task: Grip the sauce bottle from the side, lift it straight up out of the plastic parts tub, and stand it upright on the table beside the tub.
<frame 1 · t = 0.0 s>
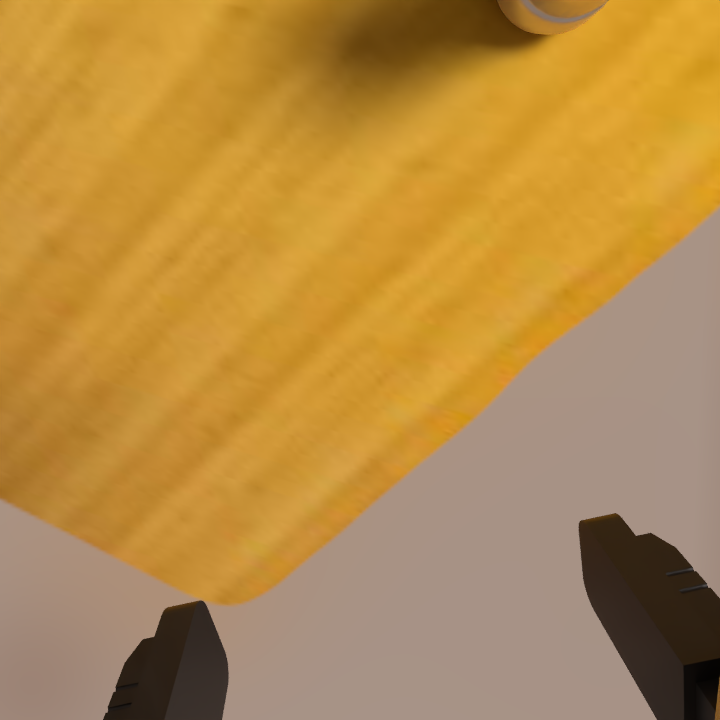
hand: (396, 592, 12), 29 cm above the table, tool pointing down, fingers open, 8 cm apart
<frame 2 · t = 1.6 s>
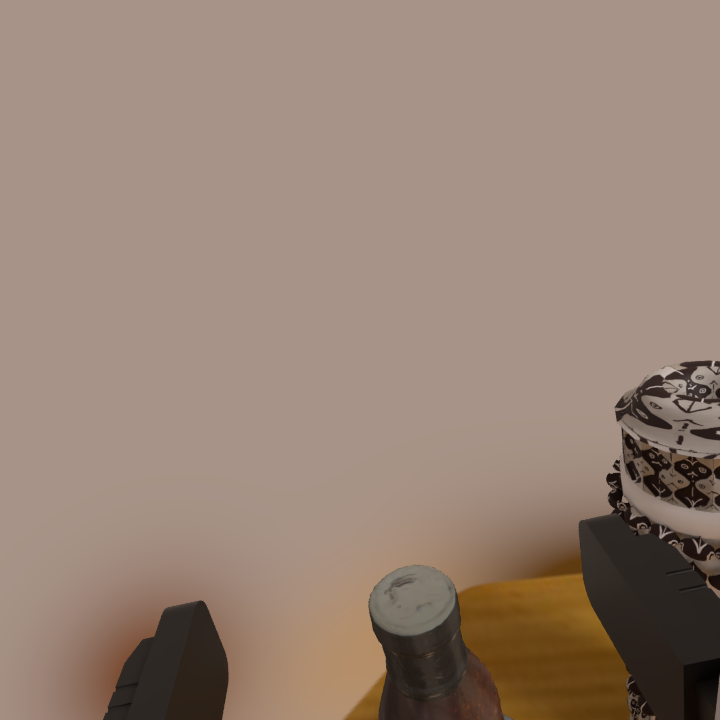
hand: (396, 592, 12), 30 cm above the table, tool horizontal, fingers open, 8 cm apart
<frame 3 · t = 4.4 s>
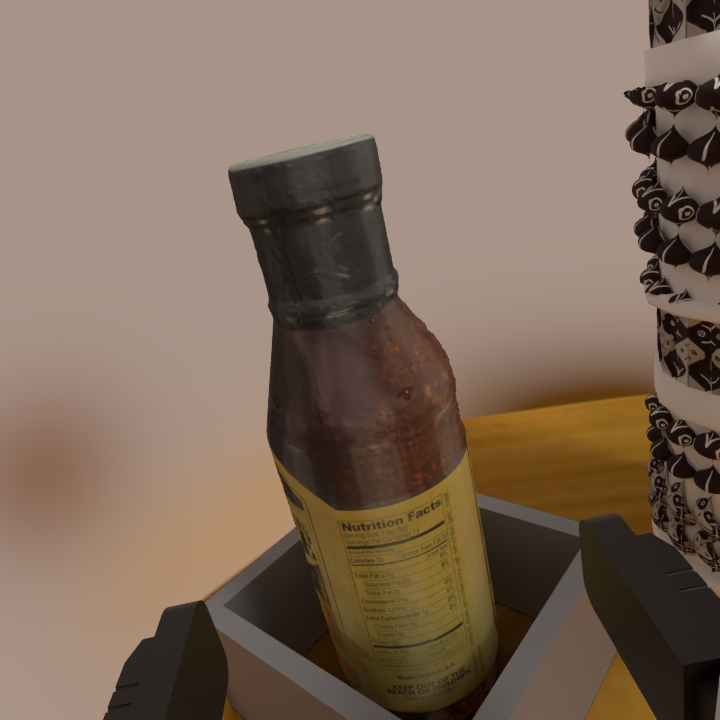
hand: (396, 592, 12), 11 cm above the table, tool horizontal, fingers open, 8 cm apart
sauce bottle: (425, 676, 23), resting in parts tub
parts tub: (424, 672, 23), on the table
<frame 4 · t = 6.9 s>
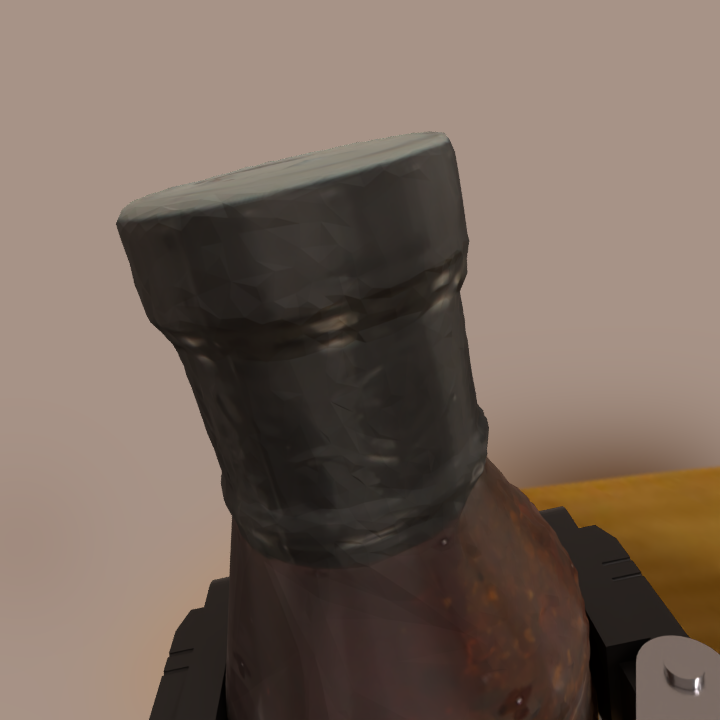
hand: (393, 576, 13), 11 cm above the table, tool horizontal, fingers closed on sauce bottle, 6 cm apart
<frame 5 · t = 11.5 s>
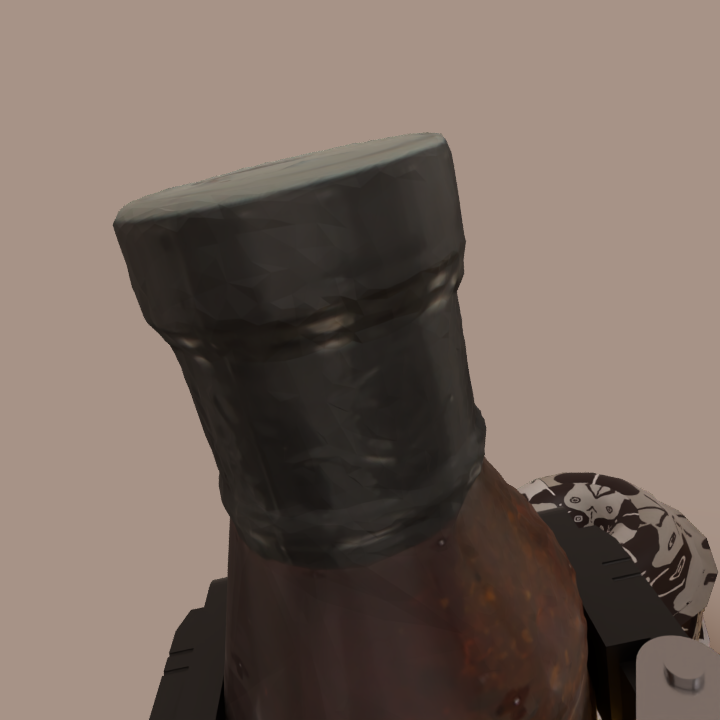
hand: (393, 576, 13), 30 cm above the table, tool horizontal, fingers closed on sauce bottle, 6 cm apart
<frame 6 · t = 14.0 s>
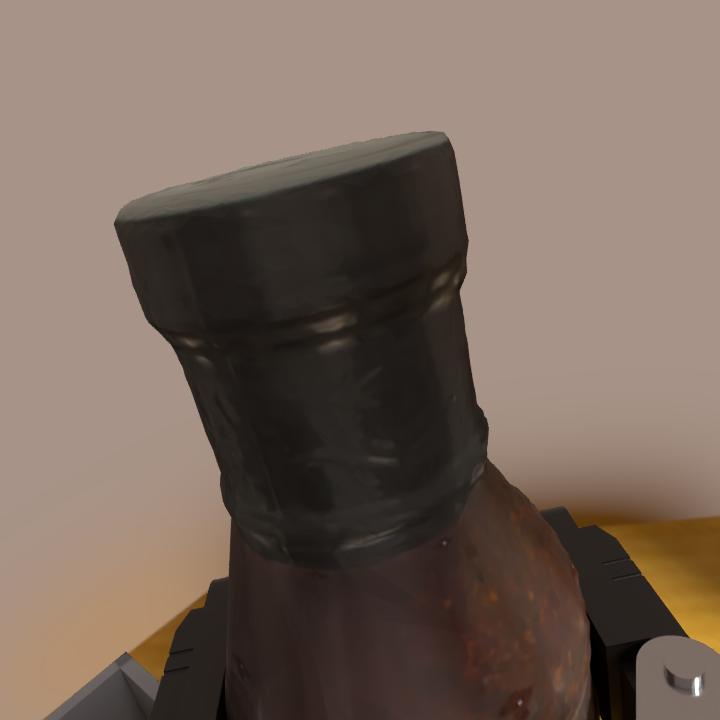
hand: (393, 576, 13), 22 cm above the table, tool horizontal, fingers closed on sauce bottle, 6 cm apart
when the fingers open (12 cm above the table, at t = 16.3 s): sauce bottle drops 1 cm, on the table.
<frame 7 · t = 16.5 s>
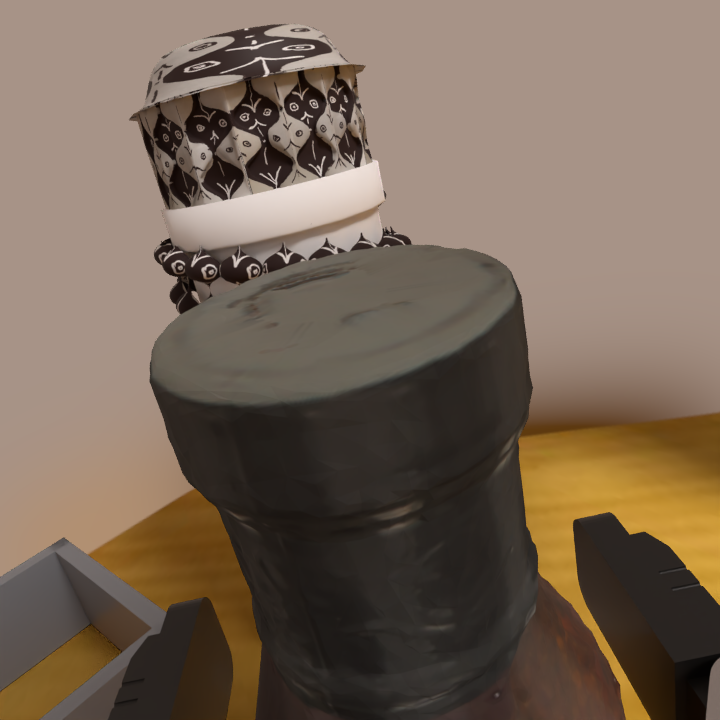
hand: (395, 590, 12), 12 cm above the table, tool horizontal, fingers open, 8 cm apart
decorative candle: (381, 615, 28), on the table
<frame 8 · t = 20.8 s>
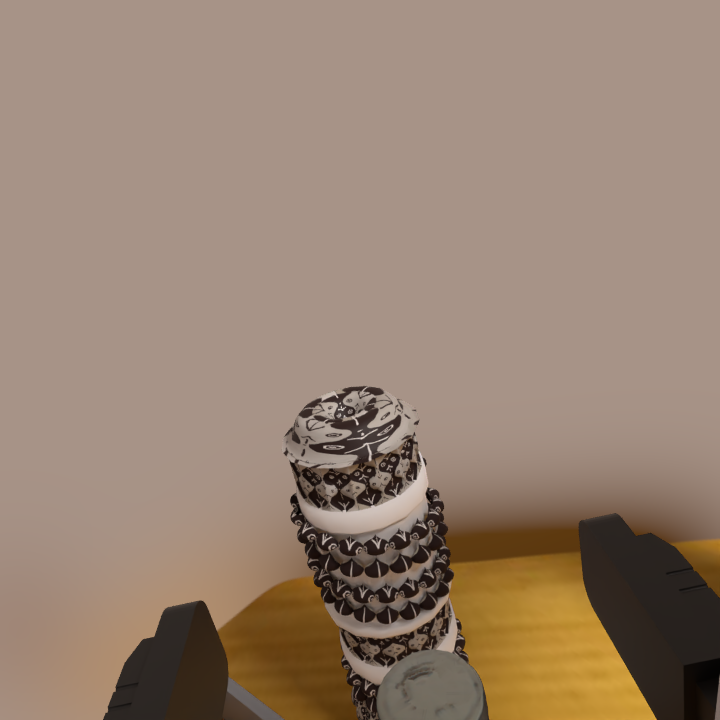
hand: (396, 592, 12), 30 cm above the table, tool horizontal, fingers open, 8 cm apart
decorative candle: (418, 711, 42), on the table
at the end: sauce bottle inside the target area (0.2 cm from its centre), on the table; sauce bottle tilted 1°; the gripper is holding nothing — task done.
